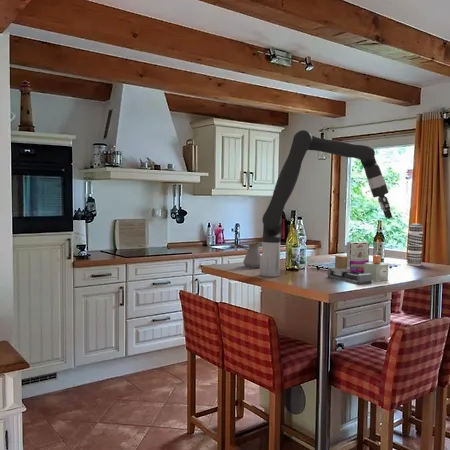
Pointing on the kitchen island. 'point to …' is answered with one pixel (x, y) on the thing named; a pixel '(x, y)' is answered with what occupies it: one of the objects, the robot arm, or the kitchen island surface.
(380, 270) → the gauge cabinet
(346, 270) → the carriage
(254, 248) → the coffee pot
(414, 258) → the decorative candle
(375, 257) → the button
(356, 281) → the rail
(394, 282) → the kitchen island surface
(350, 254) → the candy bar box
